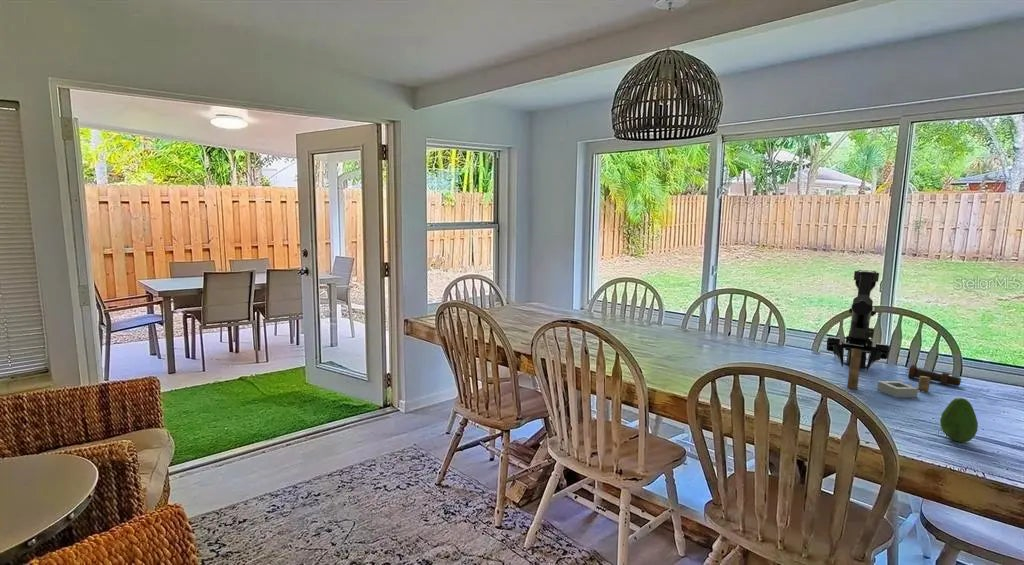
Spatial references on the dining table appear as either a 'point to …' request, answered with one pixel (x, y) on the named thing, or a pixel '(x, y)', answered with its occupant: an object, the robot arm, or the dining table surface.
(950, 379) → the bolt
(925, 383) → the short dowel
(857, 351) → the long dowel
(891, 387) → the hole block
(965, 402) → the avocado
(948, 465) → the dining table surface
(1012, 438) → the dining table surface
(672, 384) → the dining table surface
